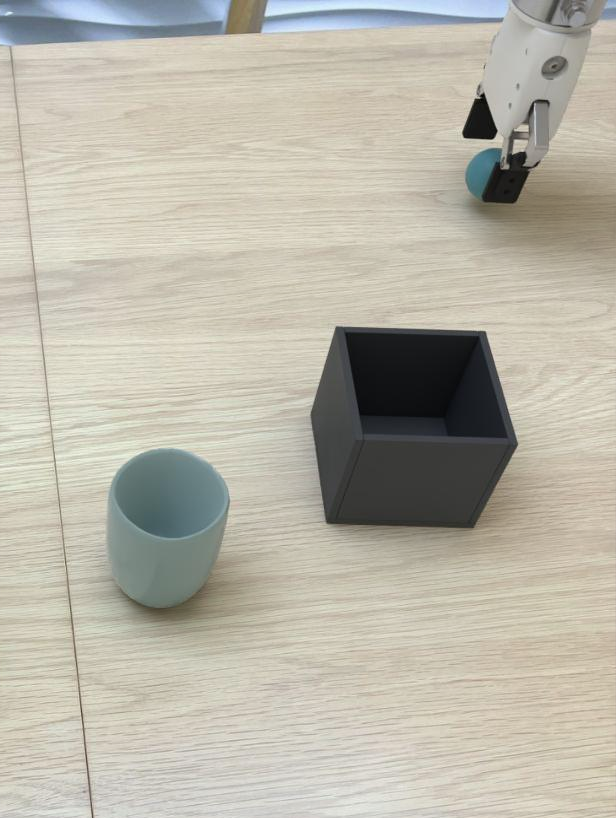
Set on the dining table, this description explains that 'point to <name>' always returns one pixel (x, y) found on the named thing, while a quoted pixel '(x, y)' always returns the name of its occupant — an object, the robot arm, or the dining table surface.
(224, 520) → the cup
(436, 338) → the bin
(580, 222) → the dining table surface
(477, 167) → the teal ball
